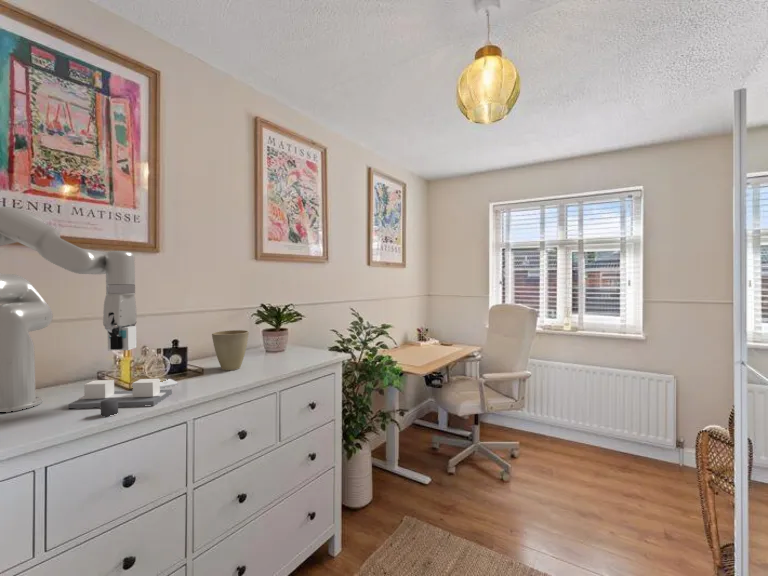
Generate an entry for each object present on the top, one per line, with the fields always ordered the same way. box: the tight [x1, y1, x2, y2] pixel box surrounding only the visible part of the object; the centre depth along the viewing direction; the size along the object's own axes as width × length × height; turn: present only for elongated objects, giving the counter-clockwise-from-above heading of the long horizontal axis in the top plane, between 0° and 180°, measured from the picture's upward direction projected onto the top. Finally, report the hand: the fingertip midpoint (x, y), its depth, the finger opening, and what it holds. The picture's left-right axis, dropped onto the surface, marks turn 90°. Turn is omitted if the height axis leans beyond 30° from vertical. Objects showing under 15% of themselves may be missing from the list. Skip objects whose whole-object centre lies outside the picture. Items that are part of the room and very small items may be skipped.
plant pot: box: [211, 329, 250, 371], centre depth 160 cm, size 15×15×16 cm
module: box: [107, 325, 137, 351], centre depth 117 cm, size 6×5×7 cm
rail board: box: [67, 378, 173, 409], centre depth 117 cm, size 24×12×6 cm, turn 96°
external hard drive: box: [160, 378, 179, 389], centre depth 133 cm, size 2×8×12 cm
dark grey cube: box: [100, 399, 119, 417], centre depth 105 cm, size 4×4×4 cm
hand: (122, 346), depth 117 cm, fingers closed on module, 4 cm apart
